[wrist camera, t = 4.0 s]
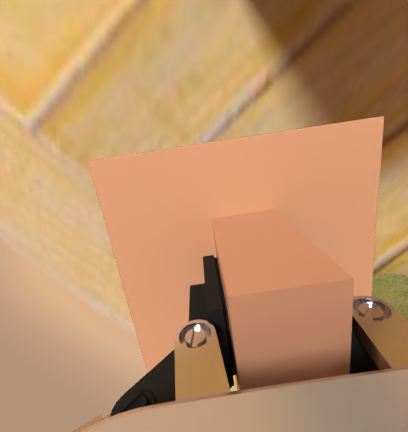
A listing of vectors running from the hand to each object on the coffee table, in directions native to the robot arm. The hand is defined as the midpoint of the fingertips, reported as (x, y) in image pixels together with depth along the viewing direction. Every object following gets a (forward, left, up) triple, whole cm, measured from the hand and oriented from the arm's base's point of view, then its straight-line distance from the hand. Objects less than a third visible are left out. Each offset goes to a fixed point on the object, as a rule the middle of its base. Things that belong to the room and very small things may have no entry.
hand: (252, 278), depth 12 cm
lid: (0, 0, -1) cm, 1 cm away
